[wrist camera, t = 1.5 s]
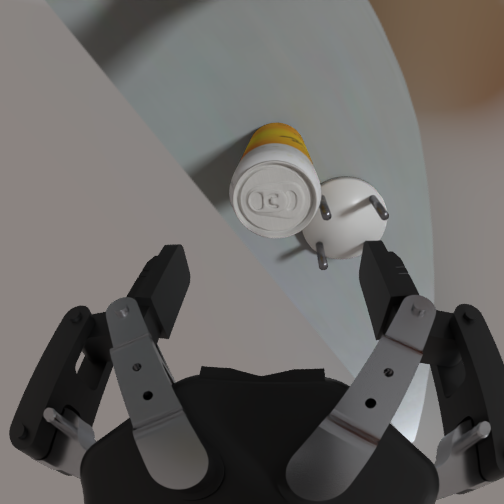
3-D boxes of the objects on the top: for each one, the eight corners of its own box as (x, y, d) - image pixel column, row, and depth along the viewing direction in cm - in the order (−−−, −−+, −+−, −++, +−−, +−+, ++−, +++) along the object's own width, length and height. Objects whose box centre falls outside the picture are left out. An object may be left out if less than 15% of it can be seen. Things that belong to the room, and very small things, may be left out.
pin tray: (300, 176, 31) (304, 195, 26) (389, 177, 30) (407, 196, 25) (300, 254, 37) (302, 282, 32) (377, 253, 36) (389, 279, 31)
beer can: (303, 173, 31) (320, 244, 18) (251, 173, 31) (230, 243, 19) (304, 122, 27) (326, 155, 15) (248, 122, 28) (222, 156, 16)
